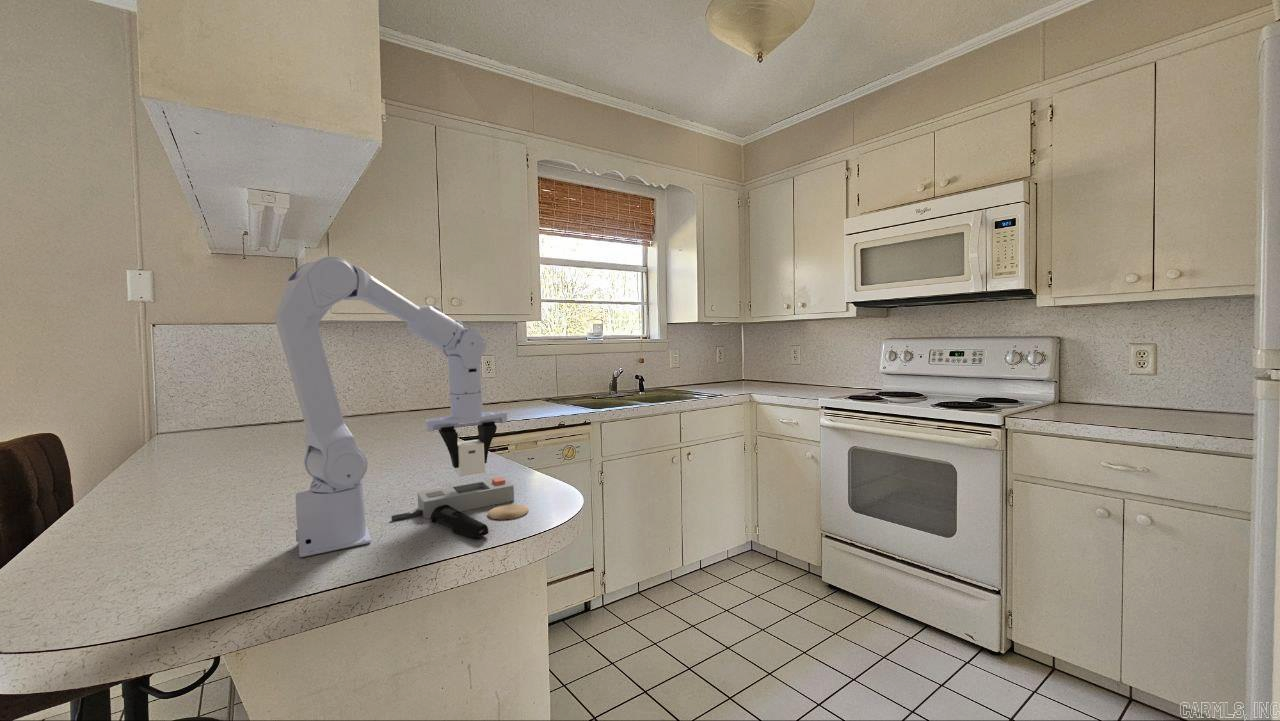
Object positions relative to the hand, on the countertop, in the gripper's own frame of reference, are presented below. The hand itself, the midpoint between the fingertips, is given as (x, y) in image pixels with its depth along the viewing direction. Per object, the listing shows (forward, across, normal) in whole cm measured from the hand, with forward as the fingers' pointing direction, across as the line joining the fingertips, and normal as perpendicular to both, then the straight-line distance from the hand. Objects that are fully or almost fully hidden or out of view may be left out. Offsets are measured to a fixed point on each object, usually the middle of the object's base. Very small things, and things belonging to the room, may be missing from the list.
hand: (469, 464), depth 102 cm
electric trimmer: (+8, +5, +12) cm, 15 cm away
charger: (+1, 0, 0) cm, 1 cm away
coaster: (+8, -4, +10) cm, 13 cm away
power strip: (+8, +3, 0) cm, 8 cm away
